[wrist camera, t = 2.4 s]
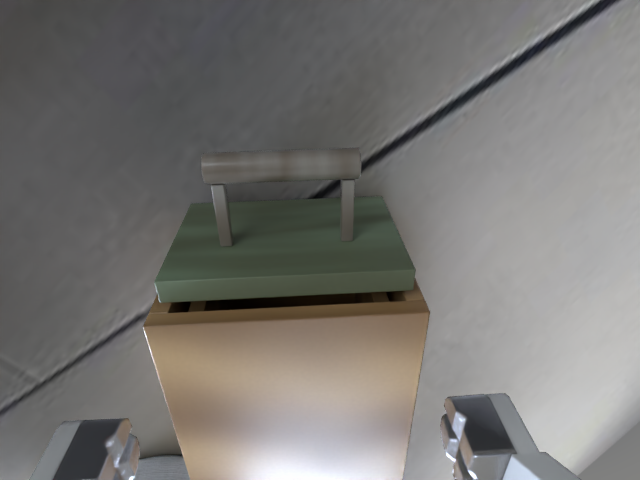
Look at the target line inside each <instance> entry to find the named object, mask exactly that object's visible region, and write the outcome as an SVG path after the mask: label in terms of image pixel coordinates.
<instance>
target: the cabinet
mask: <svg viewBox="0 0 640 480" xmlns="http://www.w3.org/2000/svg"><path fill="white" fill-rule="evenodd" d="M386 293H387V296H388V299H389V302H375V303H356V304H336V305H317V306H297V307H278V308H258V309H239V310H219V311H200V312H188V311H189V307H190V304H191V301H189V302H169V303H160V301H159V298H158V294H157V296H156V298H155V301H154V303H153V305H152V307H151V310H150V312H149V315H148V317H147V319H146V321H145V323H144V326H143V329H144V332H145V336H146V339H147V342H148V345H149V348H150V352H151V355H152V358H153V361H154V365H155V368H156V371H157V374H158V377H159V381H160V384H161V387H162V390H163V394H164V397H165V400H166V403H167V406H168V410H169V413H170V416H171V419H172V423H173V426H174V429H175V432H176V435H177V439H178V442H179V445H180V448H181V452H182V455H183V458H184V461H185V464H186V468H187V471H188V474H189V477H190V480H403V475H404V469H405V463H406V457H407V451H408V444H409V438H410V432H411V426H412V420H413V414H414V408H415V401H416V395H417V389H418V383H419V377H420V371H421V365H422V358H423V352H424V346H425V340H426V334H427V328H428V322H429V315H430V311H429V308H428V306H427V304H426V302H425V300H424V297H423V295H422V293H421V291H420V288H419V286H418V284H417V282H416V279H414V286H413V290H409V291H389V292H386Z"/></svg>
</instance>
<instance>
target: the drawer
mask: <svg viewBox="0 0 640 480" xmlns="http://www.w3.org/2000/svg"><path fill="white" fill-rule="evenodd" d="M201 169H202V176H203V180H204V182H205V184H212V185H211V190H212V196H213V202H214V203H194V204H191V205H190V207H189V209H188V211H187V213H186V215H185V218H184V220H183V222H182V224H181V226H180V228H179V230H178V232H177V235H176V237H175V239H174V241H173V243H172V245H171V247H170V250H169V252H168V254H167V256H166V258H165V260H164V262H163V265H162V267H161V269H160V271H159V273H158V275H157V277H156V279H155V282H154V283H155V287H156V290H157V294H158V298H159V301H160V303H169V302H189V301H191V304H190V307H189V311H188V312H200V311H219V310H239V309H258V308H278V307H297V306H317V305H336V304H356V303H375V302H389V299H388V296H387V293H386V292H389V291H409V290H413V286H414V279H415V271H416V269H415V267H414V265H413V263H412V261H411V259H410V256H409V254H408V252H407V250H406V248H405V245H404V243H403V241H402V239H401V237H400V235H399V232H398V230H397V228H396V226H395V224H394V222H393V219H392V217H391V215H390V213H389V211H388V209H387V206H386V204H385V202H384V200H383V198H382V196H376V197H354V191H355V180H354V179H359V178H360V175H361V154H360V150H359V148H333V149H303V150H272V151H241V152H210V153H203V154H202V159H201ZM337 179H341V198H324V199H298V200H272V201H246V202H228V196H227V189H226V183H254V182H282V181H309V180H337Z"/></svg>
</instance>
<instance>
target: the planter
mask: <svg viewBox="0 0 640 480" xmlns="http://www.w3.org/2000/svg"><path fill="white" fill-rule="evenodd" d="M132 480H190V477H189V474H188V471H187V468H186V464H185V461H184V458H183V456H170V455H167V456H155V457H149V458H144V459H139V464H138V467H137V471H136V474H135V477H134V478H133V479H132Z"/></svg>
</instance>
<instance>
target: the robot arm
mask: <svg viewBox="0 0 640 480" xmlns="http://www.w3.org/2000/svg"><path fill="white" fill-rule="evenodd" d="M444 407H445V410H446V414H445V415H444V416H442V419H441V425H440V426H441V438H442V442H443V446H444V449H445V452H446V455H447V456H448V457H449V458H450V459H452V460H453V461H454V466H453V470H452V473H453V476H454V479H455V480H581V479H580V478H578V477H577V476H576V475H575V474H573V473H572V472H571V471H569V470H568V469H567V468H566V467H564V466H563V465H562V464H560V463H559V462H558V461H557V460H555V459H554V458H553V457H551V456H550V455H549V454H547V453H546V452H539V450H538V448H537V446H536V445H535V443H534V441H533V439H532V437H531V435H530V434H529V432H528V430H527V428H526V426H525V425H524V423H523V421H522V419H521V417H520V416H519V414H518V412H517V410H516V408H515V406H514V405H513V403H512V401H511V399H510V397H509V396H508V395H507V394H505V393H498V394H486V395H485V394H477V395H465V396H452V397H447V398H446V400H445V404H444ZM131 428H132V425H131V423H130V421H129V419H128V418H120V419H98V420H76V421H64V422H63V423H62V424H61V425H60V426H59V427H58V428H57V430H56V431H55V433H54V435H53V437H52V439H51V441H50V442H49V444H48V446H47V448H46V450H45V452H44V454H43V455H42V457H41V459H40V461H39V463H38V465H37V466H36V468H35V470H34V472H33V474H32V476H31V477H30V479H29V480H132V479H133V478H134V477H135V474H136V471H137V467H138V464H139V455H140V448H139V442H138V440H137V437H135V436H134V435H132V434H131V433H130V431H131Z"/></svg>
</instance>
